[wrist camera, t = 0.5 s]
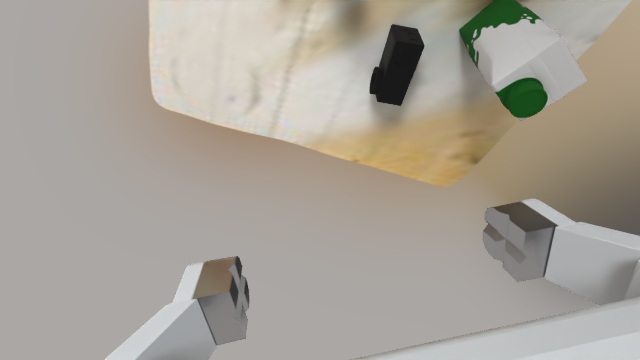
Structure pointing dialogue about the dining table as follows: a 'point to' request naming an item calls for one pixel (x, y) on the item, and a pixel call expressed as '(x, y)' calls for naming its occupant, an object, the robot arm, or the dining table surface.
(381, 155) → the dining table surface
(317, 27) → the dining table surface
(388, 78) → the digital camera
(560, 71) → the milk carton
